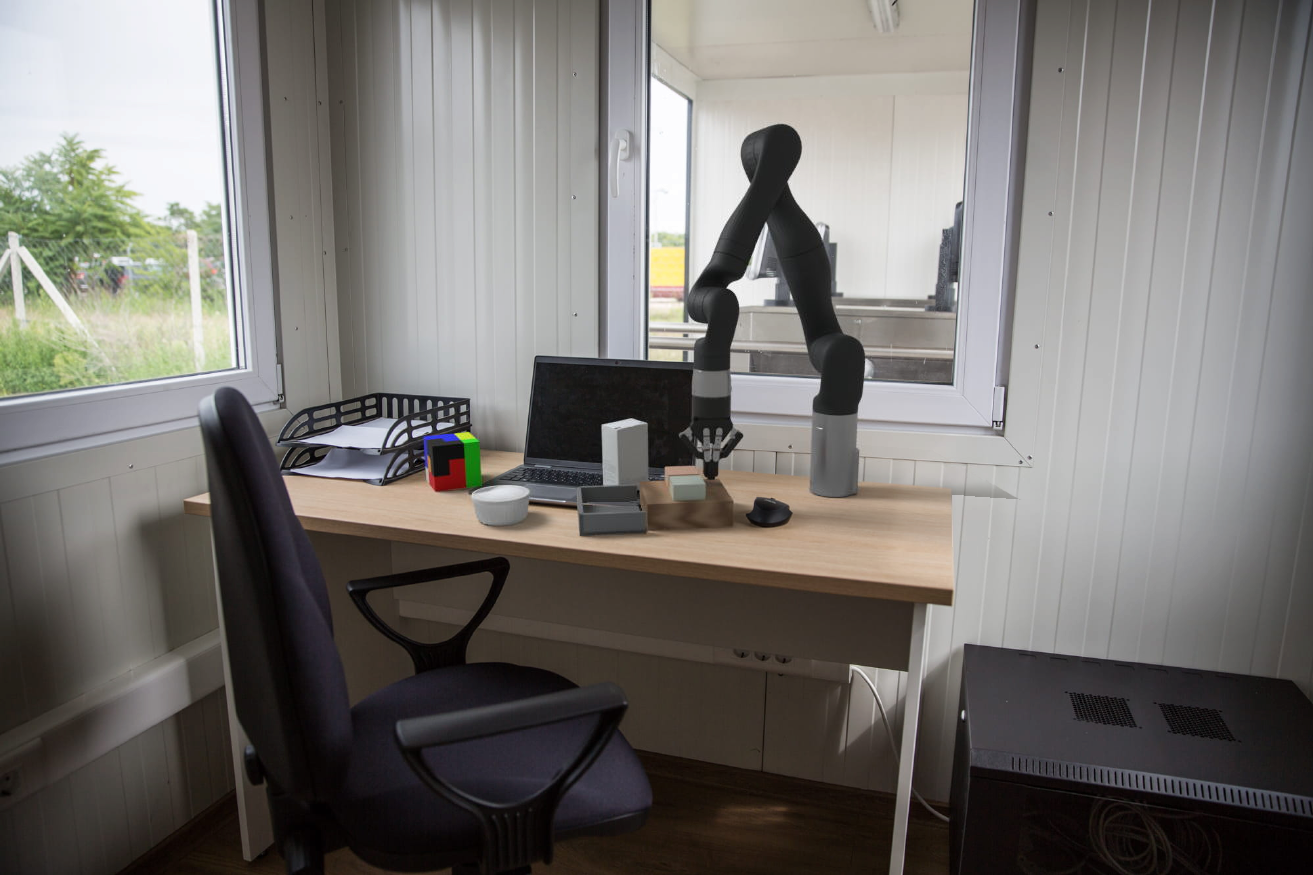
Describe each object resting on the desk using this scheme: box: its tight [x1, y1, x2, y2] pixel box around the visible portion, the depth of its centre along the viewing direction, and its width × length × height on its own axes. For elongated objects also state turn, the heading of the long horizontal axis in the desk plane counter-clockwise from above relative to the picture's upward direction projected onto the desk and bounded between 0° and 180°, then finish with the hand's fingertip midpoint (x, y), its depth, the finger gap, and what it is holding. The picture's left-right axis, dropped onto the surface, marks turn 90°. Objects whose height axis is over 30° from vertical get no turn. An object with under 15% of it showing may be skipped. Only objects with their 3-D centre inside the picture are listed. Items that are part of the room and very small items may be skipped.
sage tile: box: [669, 475, 706, 501], centre depth 164 cm, size 6×6×3 cm
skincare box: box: [601, 418, 649, 490], centre depth 183 cm, size 8×6×15 cm
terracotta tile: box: [664, 465, 700, 490], centre depth 171 cm, size 6×6×3 cm
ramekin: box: [471, 484, 531, 527], centre depth 167 cm, size 11×11×5 cm
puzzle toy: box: [423, 431, 483, 493], centre depth 190 cm, size 10×10×10 cm
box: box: [576, 484, 647, 537], centre depth 167 cm, size 12×18×4 cm, turn 6°
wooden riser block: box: [639, 478, 735, 531], centre depth 168 cm, size 16×15×5 cm
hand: (710, 478), depth 172 cm, fingers closed
